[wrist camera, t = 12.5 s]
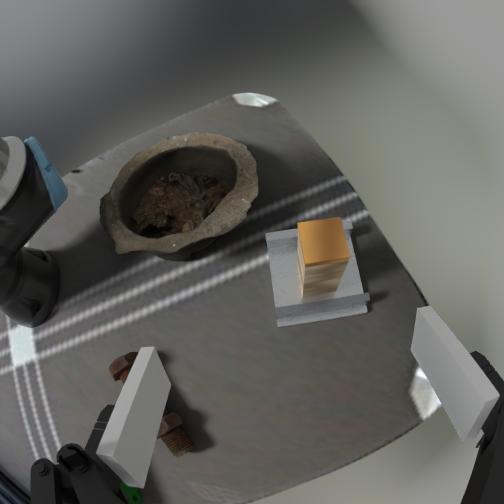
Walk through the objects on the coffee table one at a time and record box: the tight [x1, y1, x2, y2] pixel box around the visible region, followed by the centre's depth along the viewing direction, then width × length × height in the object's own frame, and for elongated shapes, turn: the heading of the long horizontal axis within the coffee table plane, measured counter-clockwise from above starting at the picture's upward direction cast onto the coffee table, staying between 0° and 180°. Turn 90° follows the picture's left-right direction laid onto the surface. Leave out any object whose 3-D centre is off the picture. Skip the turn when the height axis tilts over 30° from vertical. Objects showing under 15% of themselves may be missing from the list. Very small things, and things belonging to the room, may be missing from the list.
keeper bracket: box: [265, 221, 370, 328], centre depth 40 cm, size 12×13×4 cm
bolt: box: [109, 352, 194, 457], centre depth 35 cm, size 6×5×15 cm
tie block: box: [297, 217, 350, 297], centre depth 35 cm, size 4×4×12 cm
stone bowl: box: [99, 132, 258, 261], centre depth 46 cm, size 25×25×9 cm
